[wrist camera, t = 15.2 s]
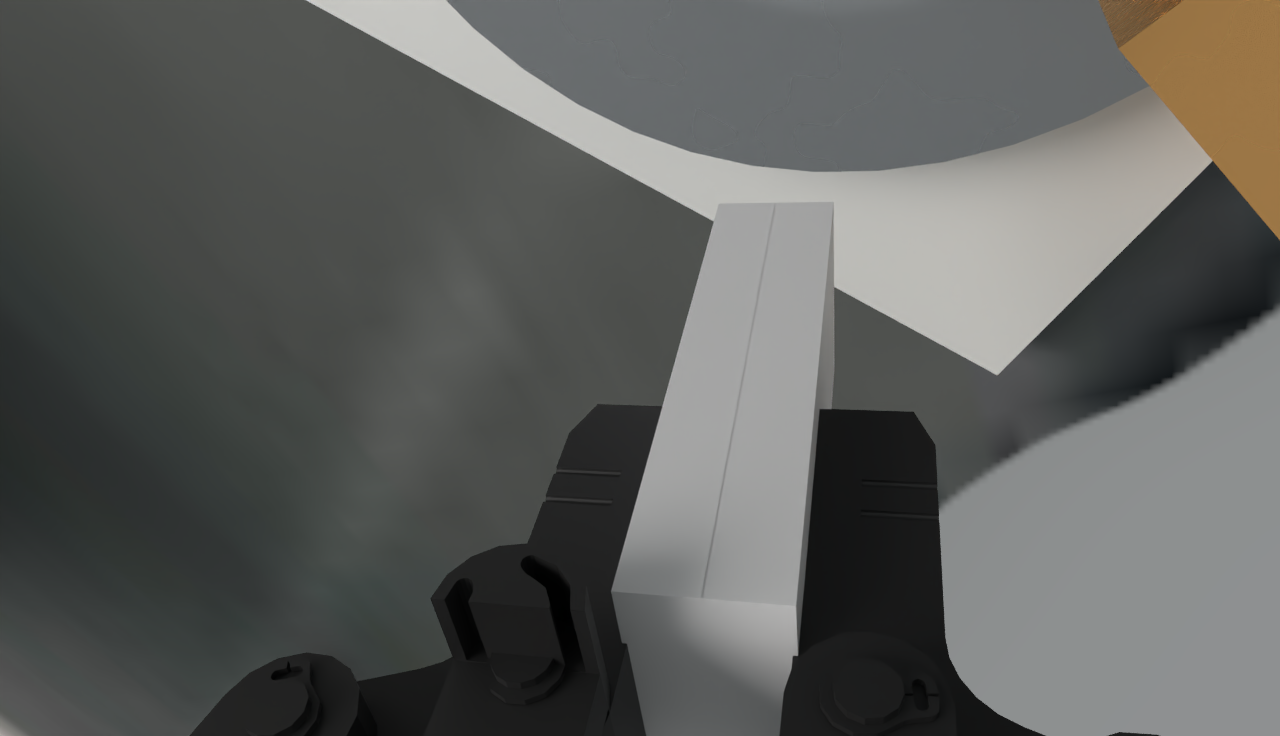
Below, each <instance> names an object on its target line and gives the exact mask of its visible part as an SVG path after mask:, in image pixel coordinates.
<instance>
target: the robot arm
mask: <svg viewBox="0 0 1280 736" xmlns="http://www.w3.org/2000/svg"><path fill="white" fill-rule="evenodd" d="M833 381H834V202H792V203H724V204H719V205H718V209H717V212H716V216H715V219H714V223H713V227H712V230H711V234H710V237H709V241H708V245H707V248H706V252H705V255H704V259H703V263H702V266H701V270H700V273H699V277H698V281H697V284H696V288H695V291H694V295H693V299H692V302H691V306H690V309H689V313H688V317H687V320H686V324H685V327H684V331H683V335H682V338H681V342H680V345H679V349H678V352H677V356H676V360H675V363H674V367H673V370H672V374H671V378H670V381H669V385H668V388H667V392H666V396H665V399H664V403H663V406H632V405H603V404H598V405H597V406H596V407H595V408H594V409H593V410H592V411H591V412H590V413H589V414H588V415H587V416H586V417H585V418H584V419H583V420H582V421H581V422H580V423H579V424H578V425H577V426H576V427H575V428H574V429H573V430H572V431H571V432H570V433H569V435H568V438H567V441H566V443H565V446H564V449H563V451H562V454H561V457H560V459H559V462H558V465H557V472H556V474H554V475H553V478H552V480H551V483H550V486H549V488H548V491H547V494H546V502H543V504H542V507H541V509H540V512H539V515H538V517H537V520H536V523H535V525H534V528H533V530H532V533H531V536H530V538H529V541H528V544H517V545H506V546H498V547H496V548H493V549H491V550H488V551H485V552H483V553H480V554H477V555H475V556H472V557H470V558H469V559H468V560H466V561H465V562H464V563H462V564H461V565H460V566H458V567H457V568H456V569H454V570H453V571H452V572H450V573H449V574H448V575H447V576H446V577H445V578H444V580H443V581H442V583H441V584H440V586H439V587H438V588H437V590H436V591H435V593H434V594H433V596H432V597H431V601H432V604H433V606H434V609H435V612H436V614H437V617H438V619H439V622H440V625H441V627H442V630H443V632H444V635H445V638H446V640H447V643H448V646H449V648H450V651H451V653H452V656H453V657H451V658H449V659H448V660H446V661H444V662H441V663H438V664H435V665H431V666H428V667H425V668H421V669H417V670H412V671H407V672H402V673H397V674H392V675H387V676H382V677H378V678H373V679H368V680H363V681H358V682H356V680H355V678H354V675H353V673H352V671H351V669H350V668H348V667H347V666H345V665H344V664H342V663H341V662H339V661H338V660H336V659H335V658H334V657H332V656H326V655H319V654H312V653H303V654H298V655H293V656H288V657H283V658H278V659H276V660H274V661H272V662H270V663H268V664H266V665H264V666H262V667H260V668H258V669H256V670H255V671H253V672H251V673H249V674H248V675H247V676H246V677H245V678H243V679H242V680H241V681H240V682H239V683H238V684H237V685H236V686H234V687H233V688H232V689H231V690H230V691H229V692H228V693H227V694H225V696H224V697H223V698H222V699H221V700H220V701H219V702H218V704H217V705H216V706H215V707H214V708H213V709H212V711H211V712H210V713H209V714H208V715H207V716H206V717H205V719H204V720H203V721H202V722H201V723H200V724H199V725H198V727H197V728H196V729H195V730H194V731H193V732H192V734H191V735H190V736H1045V735H1042V734H1040V733H1037V732H1035V731H1032V730H1030V729H1027V728H1025V727H1022V726H1021V725H1019V724H1017V723H1014V722H1013V721H1010V720H1008V719H1007V718H1004V717H1003V716H1000V715H999V714H997V713H996V712H994V711H993V710H992V709H991V708H989V707H988V706H987V705H985V704H984V703H983V702H982V701H980V700H979V699H978V698H976V697H975V695H974V694H973V693H972V692H971V691H970V690H969V688H968V687H967V686H966V685H965V684H964V683H963V681H962V680H961V679H960V678H959V676H958V674H957V672H956V670H955V668H954V666H953V664H952V662H951V660H950V658H949V654H948V649H947V644H946V639H945V625H944V607H943V586H942V566H941V548H940V527H939V508H938V490H937V469H936V449H935V444H934V442H933V441H932V439H931V438H930V436H929V435H928V433H927V432H926V430H925V429H924V427H923V426H922V424H921V423H920V421H919V420H918V418H917V417H916V415H915V413H914V412H900V411H870V410H839V409H832V395H833ZM1109 736H1159V735H1151V734H1137V733H1122V732H1119V733H1115V734H1112V735H1109Z"/></svg>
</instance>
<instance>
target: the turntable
mask: <svg viewBox="0 0 1280 736" xmlns="http://www.w3.org/2000/svg"><path fill="white" fill-rule="evenodd" d="M446 1H447V2H448V3H449V4H450V5H451V6H452V7H453V8H454V9H455V10H456V11H457V12H458V13H459V14H460V15H461V16H462V17H463V18H464V19H465V20H466V21H467V22H468V23H469V24H470V25H471V26H472V27H473V28H474V29H475V30H476V31H477V32H479V33H480V34H481V35H482V36H484V37H485V38H486V39H487V40H488V41H490V42H491V43H492V44H493V45H495V46H496V47H497V48H498V49H499V50H501V51H502V52H503V53H504V54H506V55H507V56H508V57H509V58H510V59H512V60H513V61H514V62H515V63H517V64H518V65H519V66H520V67H521V68H523V69H524V70H525V71H527V72H528V73H530V74H532V75H533V76H535V77H536V78H538V79H539V80H541V81H542V82H544V83H545V84H547V85H549V86H550V87H552V88H553V89H555V90H556V91H558V92H559V93H561V94H563V95H564V96H566V97H567V98H569V99H570V100H572V101H573V102H575V103H576V104H578V105H580V106H582V107H584V108H586V109H588V110H590V111H592V112H594V113H596V114H598V115H600V116H602V117H605V118H607V119H609V120H611V121H613V122H615V123H617V124H619V125H621V126H623V127H625V128H627V129H629V130H631V131H633V132H636V133H638V134H641V135H644V136H647V137H650V138H653V139H655V140H658V141H661V142H664V143H667V144H670V145H672V146H675V147H678V148H681V149H684V150H687V151H689V152H693V153H697V154H702V155H706V156H711V157H715V158H720V159H724V160H729V161H733V162H737V163H742V164H746V165H751V166H760V167H770V168H780V169H789V170H799V171H809V172H842V171H881V170H889V169H896V168H904V167H911V166H919V165H926V164H933V163H941V162H947V161H951V160H955V159H959V158H963V157H967V156H971V155H975V154H979V153H983V152H987V151H991V150H995V149H999V148H1003V147H1007V146H1011V145H1014V144H1017V143H1019V142H1022V141H1025V140H1028V139H1030V138H1033V137H1036V136H1038V135H1041V134H1044V133H1046V132H1049V131H1052V130H1055V129H1057V128H1060V127H1063V126H1065V125H1068V124H1071V123H1073V122H1076V121H1079V120H1081V119H1084V118H1086V117H1088V116H1090V115H1092V114H1094V113H1096V112H1098V111H1100V110H1102V109H1104V108H1106V107H1108V106H1110V105H1112V104H1114V103H1116V102H1118V101H1120V100H1122V99H1124V98H1126V97H1128V96H1130V95H1132V94H1134V93H1136V92H1138V91H1140V90H1142V89H1144V88H1146V87H1149V86H1150V87H1151V88H1152V89H1153V91H1154V92H1155V93H1156V94H1157V95H1158V96H1159V98H1160V99H1161V100H1162V101H1163V102H1164V104H1165V105H1166V106H1167V107H1168V108H1169V109H1170V111H1171V112H1172V113H1173V114H1174V115H1175V117H1176V118H1177V119H1178V120H1179V121H1180V123H1181V124H1182V125H1183V126H1184V127H1185V128H1186V130H1187V131H1188V132H1189V133H1190V134H1191V136H1192V137H1193V138H1194V139H1195V140H1196V141H1197V143H1198V144H1199V145H1200V146H1201V147H1202V149H1203V150H1204V151H1205V152H1206V153H1207V154H1208V156H1209V157H1210V158H1211V159H1212V160H1213V162H1214V163H1215V164H1216V165H1217V166H1218V167H1219V169H1220V170H1221V171H1222V172H1223V173H1224V175H1225V176H1226V177H1227V178H1228V179H1229V181H1230V182H1231V183H1232V184H1233V185H1234V186H1235V188H1236V189H1237V190H1238V191H1239V192H1240V194H1241V195H1242V196H1243V197H1244V198H1245V199H1246V201H1247V202H1248V203H1249V204H1250V205H1251V207H1252V208H1253V209H1254V210H1255V211H1256V212H1257V214H1258V215H1259V216H1260V217H1261V218H1262V220H1263V221H1264V222H1265V223H1266V224H1267V226H1268V227H1269V228H1270V229H1271V230H1272V231H1273V233H1274V234H1275V235H1276V236H1277V237H1278V239H1279V240H1280V0H446Z"/></svg>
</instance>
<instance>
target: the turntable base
mask: <svg viewBox="0 0 1280 736" xmlns="http://www.w3.org/2000/svg"><path fill="white" fill-rule="evenodd" d="M307 1H308V2H310V3H312V4H314V5H316V6H318V7H319V8H321V9H323V10H325V11H327V12H329V13H330V14H332V15H334V16H336V17H338V18H340V19H342V20H343V21H345V22H347V23H349V24H351V25H353V26H354V27H356V28H358V29H360V30H362V31H364V32H366V33H367V34H369V35H371V36H373V37H375V38H377V39H378V40H380V41H382V42H384V43H386V44H388V45H389V46H391V47H393V48H395V49H397V50H399V51H401V52H402V53H404V54H406V55H408V56H410V57H412V58H413V59H415V60H417V61H419V62H421V63H423V64H425V65H426V66H428V67H430V68H432V69H434V70H436V71H437V72H439V73H441V74H443V75H445V76H447V77H448V78H450V79H452V80H454V81H456V82H458V83H460V84H461V85H463V86H465V87H467V88H469V89H471V90H472V91H474V92H476V93H478V94H480V95H482V96H484V97H485V98H487V99H489V100H491V101H493V102H495V103H496V104H498V105H500V106H502V107H504V108H506V109H507V110H509V111H511V112H513V113H515V114H517V115H519V116H520V117H522V118H524V119H526V120H528V121H530V122H531V123H533V124H535V125H537V126H539V127H541V128H542V129H544V130H546V131H548V132H550V133H552V134H554V135H555V136H557V137H559V138H561V139H563V140H565V141H566V142H568V143H570V144H572V145H574V146H576V147H578V148H579V149H581V150H583V151H585V152H587V153H589V154H590V155H592V156H594V157H596V158H598V159H600V160H601V161H603V162H605V163H607V164H609V165H611V166H613V167H614V168H616V169H618V170H620V171H622V172H624V173H625V174H627V175H629V176H631V177H633V178H635V179H637V180H638V181H640V182H642V183H644V184H646V185H648V186H649V187H651V188H653V189H655V190H657V191H659V192H660V193H662V194H664V195H666V196H668V197H670V198H672V199H673V200H675V201H677V202H679V203H681V204H683V205H684V206H686V207H688V208H690V209H692V210H694V211H696V212H697V213H699V214H701V215H703V216H705V217H707V218H708V219H710V220H712V221H714V219H715V216H716V212H717V209H718V205H719V204H724V203H792V202H834V287H836V288H837V289H839V290H841V291H843V292H845V293H847V294H849V295H850V296H852V297H854V298H856V299H858V300H860V301H861V302H863V303H865V304H867V305H869V306H871V307H872V308H874V309H876V310H878V311H880V312H882V313H884V314H885V315H887V316H889V317H891V318H893V319H895V320H896V321H898V322H900V323H902V324H904V325H906V326H908V327H909V328H911V329H913V330H915V331H917V332H919V333H920V334H922V335H924V336H926V337H928V338H930V339H931V340H933V341H935V342H937V343H939V344H941V345H943V346H944V347H946V348H948V349H950V350H952V351H954V352H955V353H957V354H959V355H961V356H963V357H965V358H967V359H968V360H970V361H972V362H974V363H976V364H978V365H979V366H981V367H983V368H985V369H987V370H989V371H990V372H992V373H994V374H996V375H998V374H999V373H1000V372H1001V371H1002V370H1003V369H1004V368H1005V367H1006V366H1007V365H1008V364H1009V363H1010V362H1011V361H1012V360H1013V359H1014V358H1015V357H1016V356H1017V355H1018V354H1019V353H1020V352H1021V351H1022V350H1023V349H1024V348H1025V347H1026V346H1027V345H1028V344H1029V343H1030V342H1031V341H1032V340H1033V339H1034V338H1035V337H1036V336H1037V335H1038V334H1039V333H1040V332H1041V331H1042V330H1043V329H1044V328H1045V327H1046V326H1047V325H1048V324H1049V323H1050V322H1051V321H1052V320H1053V319H1054V318H1055V317H1056V316H1057V315H1058V314H1059V313H1060V312H1061V311H1062V310H1063V309H1064V308H1065V307H1066V306H1067V305H1068V304H1069V303H1070V302H1071V301H1072V300H1073V299H1074V298H1075V297H1076V296H1077V295H1078V294H1079V293H1080V292H1081V291H1082V290H1083V289H1084V288H1085V287H1086V286H1087V285H1088V284H1089V283H1090V282H1091V281H1093V280H1094V279H1095V278H1096V277H1097V276H1098V275H1099V274H1100V273H1101V272H1102V271H1103V270H1104V269H1105V268H1106V267H1107V266H1108V265H1109V264H1110V263H1111V262H1112V261H1113V260H1114V259H1115V258H1116V257H1117V256H1118V255H1119V254H1120V253H1121V252H1122V251H1123V250H1124V249H1125V248H1126V247H1127V246H1128V245H1129V244H1130V243H1131V242H1132V241H1133V240H1134V239H1135V238H1136V237H1137V236H1138V235H1139V234H1140V233H1141V232H1142V231H1143V230H1144V229H1145V228H1146V227H1147V226H1148V225H1149V224H1150V223H1151V222H1152V221H1153V220H1154V219H1155V218H1156V217H1157V216H1158V215H1159V214H1160V213H1161V212H1162V211H1163V210H1164V209H1165V208H1166V207H1167V206H1168V205H1169V204H1170V203H1171V202H1172V201H1173V200H1174V199H1175V198H1176V197H1177V196H1178V195H1179V194H1180V193H1181V192H1182V191H1183V190H1184V189H1185V188H1186V187H1187V186H1188V185H1189V184H1190V183H1191V182H1192V181H1193V180H1194V179H1195V178H1196V177H1197V176H1198V175H1199V174H1200V173H1201V172H1202V171H1203V170H1204V169H1205V168H1206V167H1207V166H1208V165H1209V164H1210V163H1211V162H1212V161H1213V160H1212V159H1211V158H1210V157H1209V156H1208V154H1207V153H1206V152H1205V151H1204V150H1203V149H1202V147H1201V146H1200V145H1199V144H1198V143H1197V141H1196V140H1195V139H1194V138H1193V137H1192V136H1191V134H1190V133H1189V132H1188V131H1187V130H1186V128H1185V127H1184V126H1183V125H1182V124H1181V123H1180V121H1179V120H1178V119H1177V118H1176V117H1175V115H1174V114H1173V113H1172V112H1171V111H1170V109H1169V108H1168V107H1167V106H1166V105H1165V104H1164V102H1163V101H1162V100H1161V99H1160V98H1159V96H1158V95H1157V94H1156V93H1155V92H1154V91H1153V89H1152V88H1151V87H1150V86H1149V87H1146V88H1144V89H1142V90H1140V91H1138V92H1136V93H1134V94H1132V95H1130V96H1128V97H1126V98H1124V99H1122V100H1120V101H1118V102H1116V103H1114V104H1112V105H1110V106H1108V107H1106V108H1104V109H1102V110H1100V111H1098V112H1096V113H1094V114H1092V115H1090V116H1088V117H1086V118H1084V119H1081V120H1079V121H1076V122H1073V123H1071V124H1068V125H1065V126H1063V127H1060V128H1057V129H1055V130H1052V131H1049V132H1046V133H1044V134H1041V135H1038V136H1036V137H1033V138H1030V139H1028V140H1025V141H1022V142H1019V143H1017V144H1014V145H1011V146H1007V147H1003V148H999V149H995V150H991V151H987V152H983V153H979V154H975V155H971V156H967V157H963V158H959V159H955V160H951V161H947V162H941V163H933V164H926V165H919V166H911V167H904V168H896V169H889V170H881V171H842V172H809V171H799V170H789V169H780V168H770V167H760V166H751V165H746V164H742V163H737V162H733V161H729V160H724V159H720V158H715V157H711V156H706V155H702V154H697V153H693V152H689V151H687V150H684V149H681V148H678V147H675V146H672V145H670V144H667V143H664V142H661V141H658V140H655V139H653V138H650V137H647V136H644V135H641V134H638V133H636V132H633V131H631V130H629V129H627V128H625V127H623V126H621V125H619V124H617V123H615V122H613V121H611V120H609V119H607V118H605V117H602V116H600V115H598V114H596V113H594V112H592V111H590V110H588V109H586V108H584V107H582V106H580V105H578V104H576V103H575V102H573V101H572V100H570V99H569V98H567V97H566V96H564V95H563V94H561V93H559V92H558V91H556V90H555V89H553V88H552V87H550V86H549V85H547V84H545V83H544V82H542V81H541V80H539V79H538V78H536V77H535V76H533V75H532V74H530V73H528V72H527V71H525V70H524V69H523V68H521V67H520V66H519V65H518V64H517V63H515V62H514V61H513V60H512V59H510V58H509V57H508V56H507V55H506V54H504V53H503V52H502V51H501V50H499V49H498V48H497V47H496V46H495V45H493V44H492V43H491V42H490V41H488V40H487V39H486V38H485V37H484V36H482V35H481V34H480V33H479V32H477V31H476V30H475V29H474V28H473V27H472V26H471V25H470V24H469V23H468V22H467V21H466V20H465V19H464V18H463V17H462V16H461V15H460V14H459V13H458V12H457V11H456V10H455V9H454V8H453V7H452V6H451V5H450V4H449V3H448V2H447V1H446V0H307Z"/></svg>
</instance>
